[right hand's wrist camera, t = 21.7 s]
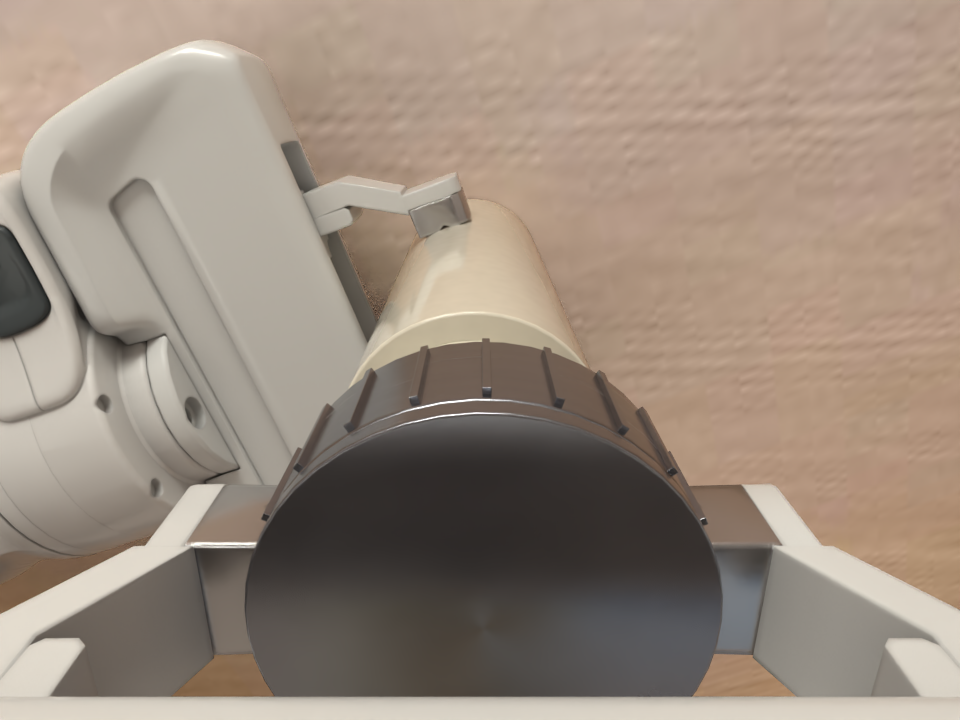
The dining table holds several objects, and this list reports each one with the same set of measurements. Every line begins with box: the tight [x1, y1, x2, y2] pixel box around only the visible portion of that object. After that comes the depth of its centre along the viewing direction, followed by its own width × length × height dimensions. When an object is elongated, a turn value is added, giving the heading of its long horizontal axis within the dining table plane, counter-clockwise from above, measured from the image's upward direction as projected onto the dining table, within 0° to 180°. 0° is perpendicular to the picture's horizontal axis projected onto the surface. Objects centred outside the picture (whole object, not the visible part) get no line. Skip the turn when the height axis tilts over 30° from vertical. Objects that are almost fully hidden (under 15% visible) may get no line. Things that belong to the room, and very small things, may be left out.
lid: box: [244, 338, 723, 697], centre depth 9 cm, size 6×6×2 cm
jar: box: [348, 199, 590, 389], centre depth 20 cm, size 5×5×18 cm
